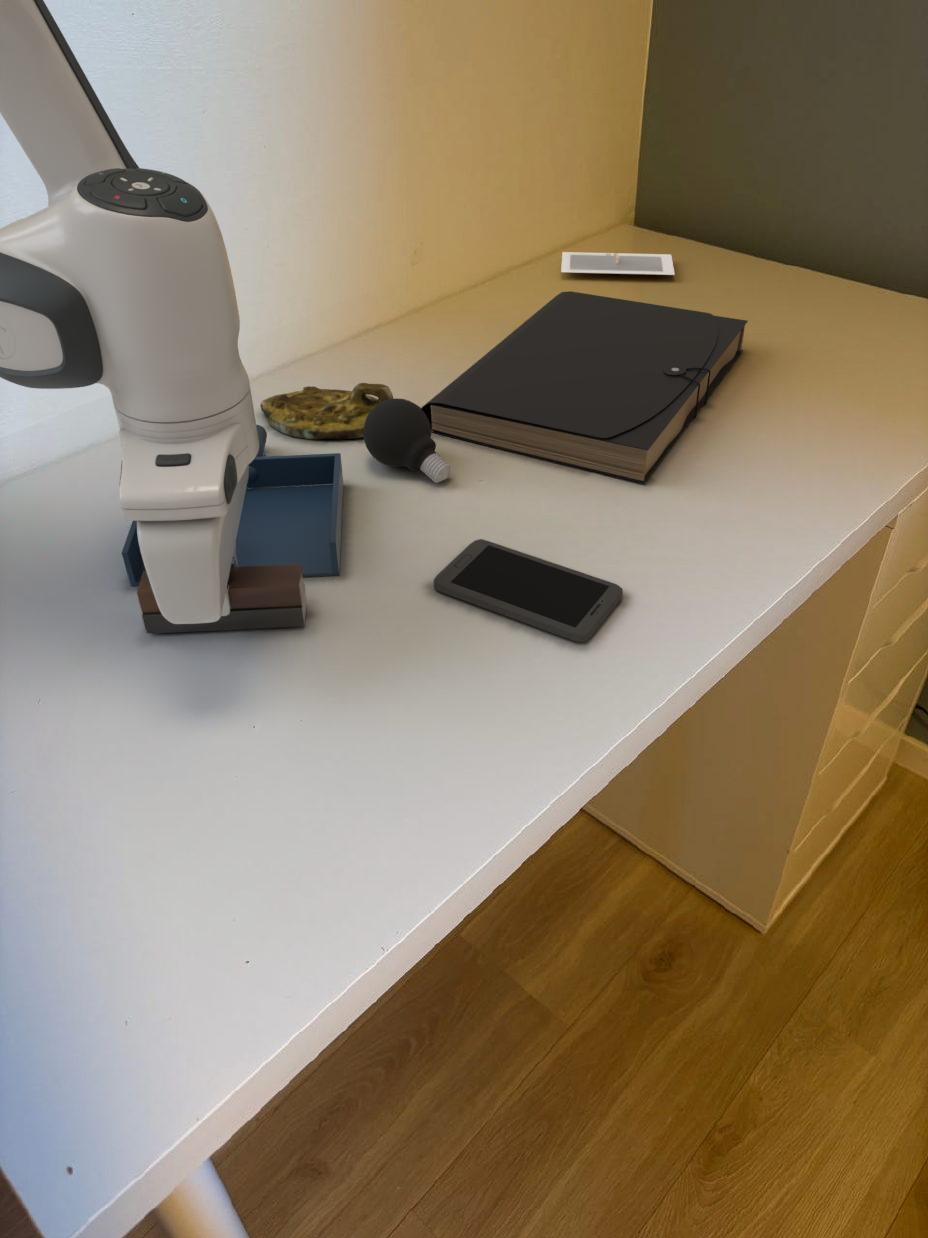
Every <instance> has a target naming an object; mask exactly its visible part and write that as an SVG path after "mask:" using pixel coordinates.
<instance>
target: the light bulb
mask: <svg viewBox="0 0 928 1238" xmlns="http://www.w3.org/2000/svg"><path fill="white" fill-rule="evenodd" d="M421 408H422V407H420V406H419V405H417V404H416V403H415V402H413V401H411V400H408V399H404V398H393V399H389V400H385V401H383V402H381V403H379V404H378V405H376V406H375V407H374V408H373V409H372V410H371V411H370V413H369V414H368V416H367V418H366V420H365V424H364V430H363V435H364V437H363V440H364V441H363V442H364V444H365V447H366V449H367V451H368V452H369V454H370V455H371V456H372V457H373V458H374V459H375V460H376V461H378V462H379V463H380V464H382V465H384V466H387V467H393V468H402V467H403V468H404V467H406V468H407V469H408V470H410V471H417V470H420V471H421V472H422V473H424V474H425V475H426V476H427V477H428V478H429V479H430V480H432V482H433V483H436V484H439V483H441V482H442V481H444V480H446V479H448V477H449V474H450V471H451V465H450V464H449V463H448V462H447V461H446V460H445V459H444V458H442V456H441V455H439V454H438V453H437V452H436V448H437V444H436V442H435V440H434V439H433V438H432V431H431V427H430V423H429V420H428V418H427V416H426V414H425V413H424V411H423V410H422V409H421Z"/></svg>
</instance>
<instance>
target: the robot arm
mask: <svg viewBox="0 0 928 1238" xmlns="http://www.w3.org/2000/svg"><path fill="white" fill-rule="evenodd" d="M0 115H1V116H2V118H3V120H4V121H5V123H6V124H7V126H8V127H9V129H10V131H11V132H12V134H13V136H14V137H15V139H16V140H17V142H18V144H19V145H20V147H21V148H22V150H23V151H24V153H25V155H26V157H27V158H28V160H29V161H30V163H31V165H32V166H33V168H34V170H35V171H36V172H37V174H38V176H39V177H40V179H41V181H42V182H43V183H42V184H43V185H44V186H45V190H46V194H47V199H48V205H47V206H46V207H44V208H43V209H41V210H38V211H36V212H35V213H33V214H31V215H28V216H26V217H25V218H20V219H18V220H15V221H13V222H10V223H9V224H6V225H5V226H3V227H1V228H0V378H1V379H2V380H5V381H7V382H9V383H12V384H15V385H18V386H21V387H25V388H29V389H38V390H39V389H41V390H43V389H44V390H45V389H46V390H48V389H49V390H51V389H52V390H57V389H63V390H64V389H75V388H77V389H78V388H85V387H88V386H92V385H94V384H99V385H103V386H105V387H106V388H107V389H108V391H109V392H110V395H111V399H112V404H113V407H114V412H115V415H116V419H117V424H118V427H119V430H118V437H119V442H120V446H121V457H122V458H121V465H120V476H119V489H118V501H119V506H120V509H121V513H122V515H123V516H122V517H123V518H124V520H126V521H137V535H138V542H139V547H140V551H141V555H142V559H143V562H144V565H145V569H146V572H147V575H148V578H149V581H150V584H151V587H152V590H153V593H154V596H155V599H156V602H157V605H158V607H159V610H160V612H161V614H162V615H163V616H164V618H166V619H167V620H168V621H169V622H171V623H173V624H197V623H211V622H216V621H218V620H219V619H220V617H221V616H227V615H228V614H229V613H230V609H231V603H232V598H231V593H230V587H229V585H227V583H228V578H229V573H230V568H231V563H232V567H238V563H237V557H236V538H237V533H238V528H239V523H240V518H241V513H242V507H243V502H244V497H245V492H246V489H247V488H246V487H247V482H248V477H249V464H250V463H251V462H252V461H253V460H254V458H255V457H256V455H257V453H258V450H259V440H258V433H257V427H256V425H257V421H256V415H255V408H254V401H253V396H252V388H251V383H250V379H249V374H248V372H247V370H246V368H245V366H244V364H243V362H242V359H241V356H240V352H239V335H240V331H241V319H240V312H239V306H238V299H237V296H236V295H237V294H236V288H235V283H234V277H233V273H232V268H231V263H230V260H229V255H228V251H227V247H226V243H225V241H224V237H223V234H222V233H223V232H222V230H221V228H220V225H219V223H218V220H217V218H216V216H215V213H214V210H213V209H212V207H211V206H210V205H211V204H209V202H208V200H207V199H206V197H205V196H204V194H203V193H202V192H201V191H200V190H199V189H198V188H196V186H194V185H193V184H191V183H189V182H187V181H186V180H184V179H182V178H180V177H179V176H176V175H173V174H170V173H167V172H164V171H160V170H155V169H150V168H143V167H139V165H138V164H137V162H136V161H135V159H134V158H133V155H131V154H130V151H129V150H128V149H127V146H126V145H125V143H124V142H123V140H122V138H121V137H120V134H119V133H118V130H117V129H116V128H115V125H114V124H113V122H112V120H111V118H110V117H109V115H108V113H107V111H106V110H105V107H104V106H103V104H102V102H101V101H100V98H99V97H98V96H97V93H96V91H95V90H94V88H93V86H92V84H91V83H90V81H89V79H88V76H87V75H86V73H85V72H84V70H83V68H82V67H81V64H80V63H79V61H78V59H77V58H76V55H75V54H74V52H73V51H72V49H71V47H70V45H69V43H68V41H67V40H66V38H65V36H64V34H63V32H62V31H61V29H60V27H59V25H58V24H57V22H56V20H55V18H54V17H53V15H52V13H51V11H50V9H49V7H48V6H47V4H46V3H45V1H44V0H0Z"/></svg>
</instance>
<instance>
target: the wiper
mask: <svg viewBox="0 0 928 1238" xmlns="http://www.w3.org/2000/svg"><path fill="white" fill-rule="evenodd" d="M304 578H305V577H303V571H302V565H301V564H289V565H266V566H243V567H232V563H231V568H230V573H229V578H228V583H227V585H229V587H230V593H231V598H232V603H231V609H230V613H229V614H228V615H227V616H221V617H220V619H219V620H218V621H216V622H211V623H197V624H173V623H171V622H169V621H168V620H167V619H166V618H164V616H163V615H162V614H161V612H160V610H159V607H158V605H157V602H156V599H155V596H154V593H153V590H152V587H151V584H150V581H149V578H148V575H147V572H146V571H144V572H143V575H142V578H141V581H140V584H139V586H137V591H136V595H137V599H138V603H139V606H140V610H141V613H142V614H141V618H142V621H143V625H144V628H145V632H146V634H165V633H167V634H168V633H188V632H210V631H233V630H253V629H273V628H295V627H296V628H297V627H305V624H306V616H307V607H308V606H307V605H308V598H307V592H306V591H307V590H306V584H305V580H304Z"/></svg>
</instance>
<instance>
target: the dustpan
mask: <svg viewBox="0 0 928 1238" xmlns="http://www.w3.org/2000/svg"><path fill="white" fill-rule="evenodd" d="M256 427H257V433H258V440H259V450H258V453H257V455H256V457H255V458H254V460H253V461H252V462H251V463H250V464H249V477H248V482H247V487H246V492H245V497H244V502H243V507H242V513H241V518H240V523H239V528H238V533H237V538H236V557H237V563H238V567H243V566H266V565H289V564H301V565H302V571H303V578H309V577H310V578H312V577H330V576H331V577H332V576H340V572H341V571H340V569H341V551H342V550H341V548H342V547H341V546H342V524H343V507H344V506H343V503H344V475H343V466H342V455H341V454H342V453H341V452H333V453H332V452H331V453H313V454H311V453H310V454H289V455H270V456H269V455H268V456H265V450H266V443H267V438H268V433H267V431H266V429H265V428H264V426H262V425H260V424H256ZM121 556H122V559H123V560H122V561H123V563H124V566H125V567H124V568H125V570H126V574H127V577H128V581H129V585H130V586H131V587H139V584H140V581H141V578H142V575H143V572H144V571H146V569H145V565H144V562H143V559H142V555H141V551H140V547H139V542H138V535H137V521H132V522H131V524H130V527H129V530H128V533H127V536H126V539H125V542H124V545H123V548H122V551H121Z"/></svg>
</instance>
